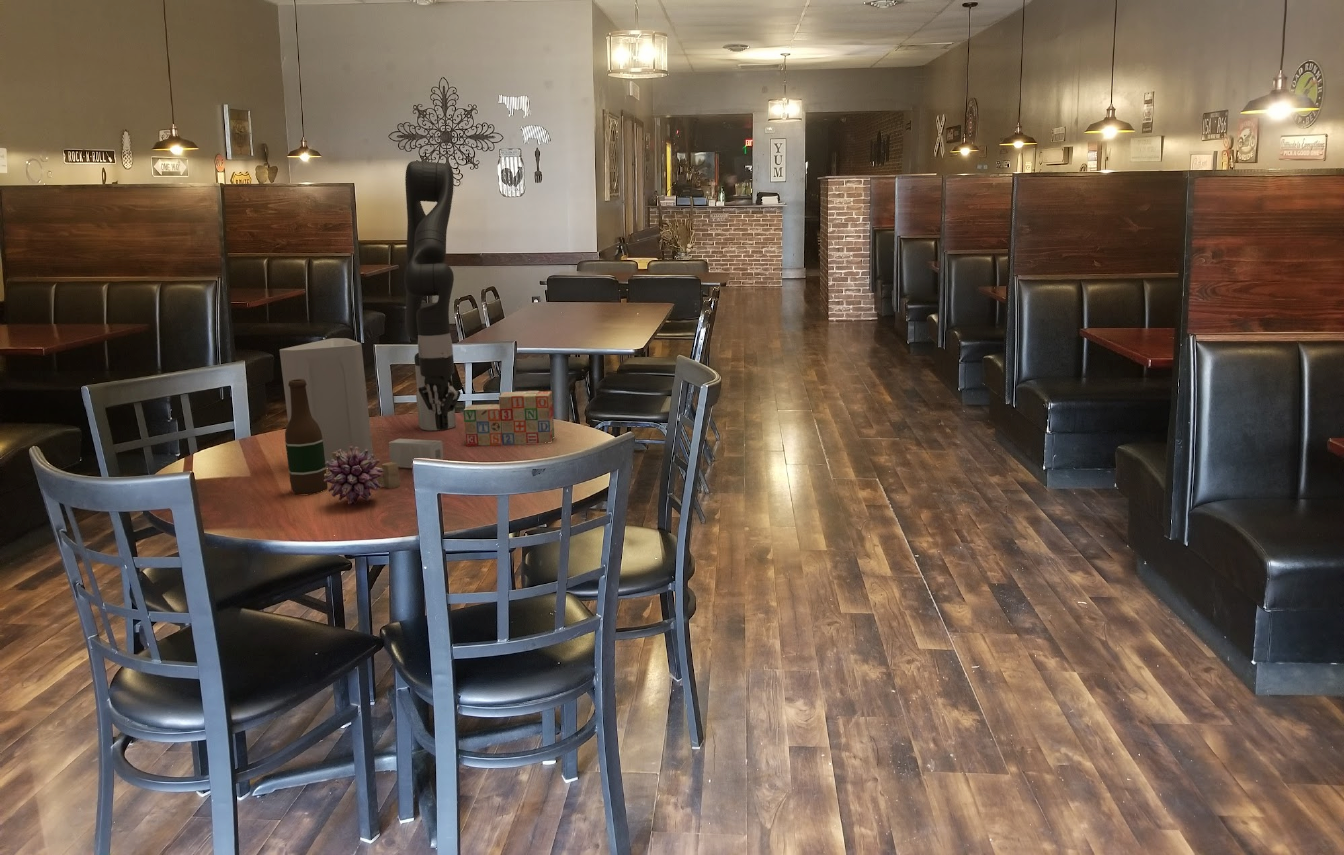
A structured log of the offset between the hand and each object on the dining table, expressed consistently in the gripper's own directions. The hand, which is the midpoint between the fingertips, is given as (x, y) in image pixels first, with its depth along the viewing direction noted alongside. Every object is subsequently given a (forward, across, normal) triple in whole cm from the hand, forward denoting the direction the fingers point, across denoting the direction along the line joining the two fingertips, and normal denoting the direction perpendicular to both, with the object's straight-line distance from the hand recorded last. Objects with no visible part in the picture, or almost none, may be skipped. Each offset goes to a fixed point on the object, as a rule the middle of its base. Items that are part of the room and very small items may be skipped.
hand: (442, 429), depth 249 cm
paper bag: (+9, -26, -10) cm, 29 cm away
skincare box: (+6, 0, -1) cm, 6 cm away
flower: (+9, +9, -29) cm, 32 cm away
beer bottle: (+9, -9, -29) cm, 32 cm away
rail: (+9, -6, -17) cm, 20 cm away
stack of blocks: (+9, -7, +25) cm, 27 cm away
